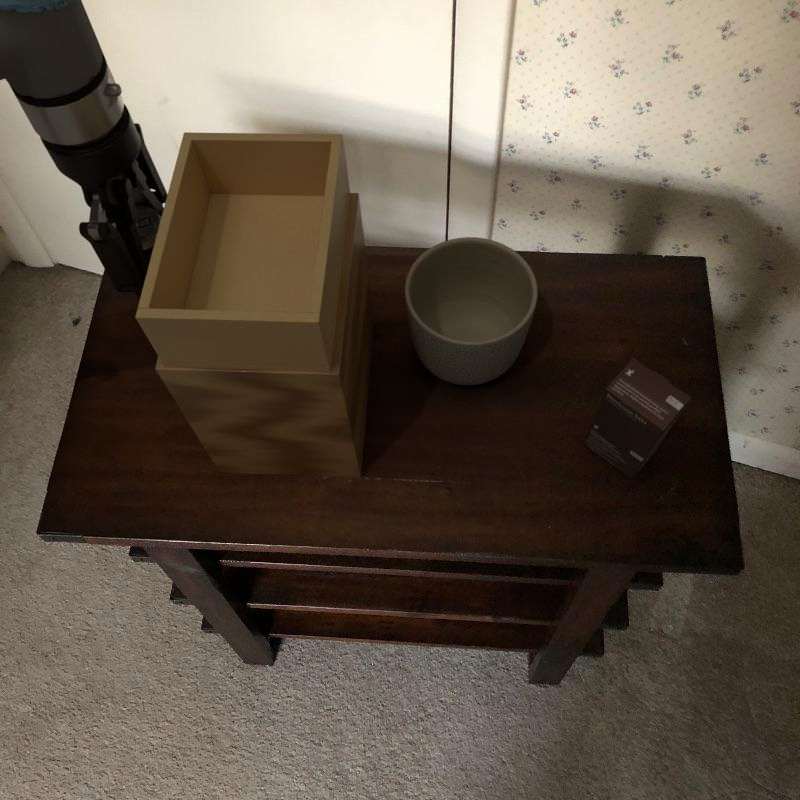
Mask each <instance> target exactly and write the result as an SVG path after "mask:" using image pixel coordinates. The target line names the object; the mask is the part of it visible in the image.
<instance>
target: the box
mask: <svg viewBox="0 0 800 800" xmlns="http://www.w3.org/2000/svg"><path fill="white" fill-rule="evenodd" d="M604 390H605V391H604V392H603V395H602V397H601V399H600V402H599V404H598V407H597V409H596V411H595V414H594V416H593V418H592V420H591V422H590V425H589V428H588V430H587V432H586V435H585V437H584V439H583V442H582V445H583V446H585V447H586V448H588V449H589V450H591V451H592V452H593V453H595V454H596V455H597V456H598V457H600V458H602V460H604V461H605V462H607V463H608V464H610V465H611V466H612V467H614V469H616V470H617V471H618V472H620V473H621V474H622V475H624V476H625V477H626V478H627V479H629V480H631V481H632V480H634V478H635V477H636V476H637V474H638V473H639V472H640V471H641V470H642V469H643V468H644V466H645V465H646V464H647V463H648V462H649V460H650V459H651V458H652V457H653V455H654V454H656V452H657V451H658V449H659V448H660V446H661V445H662V443H663V442H664V440H665V439H666V437H667V435H668V434H669V432H670V431H671V430H672V428H673V427H674V425H675V423H676V422H677V420H678V419H679V417H680V416H681V415H682V413H683V412H684V410H686V407H687V406H688V404H689V403H690V402H691V400H692V399H691V396H690V395H688V394H686V393H685V392H684V391H682V390H681V389H679V388H677V387H676V386H674V385H673V384H672V383H671V382H670V381H669V380H668V379H667V378H665V377H664V376H663V375H662V374H659V373H657V372H656V371H652V370H651V369H649V368H648V367H646V365H644V364H642V362H639V361H638V360H637V359H636V358H634V357H633V358H631V359H630V361H629V362H628V363H627V364H626V365H625V366H624V368H623V369H622V370H621V371H620V372H619V373H618V375H616V377H615V378H614V379H613V380H612V381H611V382H610V383H609V385H608V386H607V387H606V388H605V389H604Z"/></svg>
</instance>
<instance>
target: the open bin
mask: <svg viewBox="0 0 800 800" xmlns="http://www.w3.org/2000/svg"><path fill="white" fill-rule="evenodd" d="M348 173H349V172H348V167H347V159H346V149H345V143H344V135H343V133H341V134H339V133H336V134H335V133H333V134H331V133H266V132H265V133H264V132H263V133H261V132H260V133H258V132H257V133H255V132H251V133H250V132H183V135H182V139H181V142H180V145H179V150H178V153H177V157H176V162H175V165H174V168H173V172H172V176H171V179H170V183H169V187H168V188H169V189H168V191H167V194H168V195H167V199H166V203H164V205H163V207H164V210H163V214H162V218H161V221H160V225H159V229H158V233H157V237H156V240H155V244H154V248H153V252H152V256H151V259H150V263H149V267H148V271H147V275H146V278H145V282H144V286H143V290H142V294H141V297H140V300H139V302H138V305H137V310H136V313H135V320H136V321H137V323H138V324H139V326H140V328H141V330H142V331H143V333H144V335H145V336H146V338H147V340H148V341H149V343H150V345H151V347H152V348H153V350H154V351H155V353H156V354H157V357H158V356H159V358H160V360H161V361H162V362H163V365H164V367H187V368H220V369H253V370H287V371H320V372H330V369H331V361H332V352H333V343H334V334H335V325H336V317H337V308H338V299H339V290H340V281H341V272H342V264H343V255H344V246H345V237H346V228H347V220H348V211H349V202H350V193H351V189H350V188H351V187H350V181H349V174H348Z"/></svg>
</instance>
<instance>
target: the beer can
mask: <svg viewBox="0 0 800 800" xmlns="http://www.w3.org/2000/svg"><path fill="white" fill-rule="evenodd" d="M135 208H136V211H137V217H136V219H135V225H136V228H137V231H138V234H139V238H140V241H141V244H142V247H143V250H144V254H145V257H146V260H147V263H148V266H149V263H150V259H151V256H152V252H153V248H154V244H155V240H156V237H157V233H158V229H159V225H160V221H161V218H162V217H161V216H160V215H159V214H158V213H157V212H156V211H155V210H154V209H153V208H151V207H149V206H144V205H135Z"/></svg>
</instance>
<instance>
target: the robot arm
mask: <svg viewBox="0 0 800 800" xmlns="http://www.w3.org/2000/svg"><path fill="white" fill-rule="evenodd" d="M88 15H89V14H88V13H87V10H86V8H85V5H84V3H83V1H82V0H0V81H3V80H5V81H6V82H7V83H8V85H9V87H10V89H11V91H12V92H13V94H14V96H15V99H16V100H17V101H18V103H19V105H20V108H21V109H22V111H23V112H24V114H25V116H26V118H27V119H28V121H29V123H30V125H31V127H32V129H33V130H34V132H35V133H36V134H37V135H38V136H39V138H40V140H41V142H42V143H41V144H43V146H44V148H45V149H46V151H47V153H48V155H49V157H50V158H51V160H52V161H53V163H54V165H55V167H56V169H57V171H59V172H60V173H61V174H62V175H64V177H66V178H67V179H69V180H71V181H73V182H74V183H75V184H77V185H78V186H79V187H80V188H81V191H82V194H83V199H84V202H85V204H86V205H87V207H89V208H90V210H89V217H88V221H81V222H80V223H79V225H78V231H79V234H80V236H81V237H82V238H84V239H85V240H86V241H87V242H88V243H89V244H90V245H91V247H92V249H93V251H94V253H95V254H96V256H97V258H98V260H99V261H100V263H101V264H102V267H103V269H104V271H105V272H106V274H107V276H108V277H109V280H110V281H111V283H112V285H113V286H114V288H115V289H116V291H117V293H128V294H129V293H130V294H131V293H134V294H136V296H137V299H139V301H140V297H141V294H142V290H143V286H144V282H145V278H146V275H147V271H148V267H149V266H148V263H147V260H146V257H145V254H144V250H143V247H142V244H141V241H140V238H139V234H138V231H137V228H136V225H135V219H136V217H137V211H136V208H135V205H144V206H149V207H151V208H153V209H154V210H155V211H156V212H157V213H158V214H159V215H160V216H161V217H162V214H163V210H164V204H165V203H166V199H167V195H168V191H167V189H166V187H165V185H164V183H163V181H162V178H161V175H160V173H159V171H158V169H157V167H156V164H155V163H154V161H153V159H152V156H151V154H150V152H149V150H148V147H147V145H146V142H145V138H144V135H143V130H142V127H141V125H140V123H134V120H133V118H132V116H131V113H130V111H129V109H128V107H127V106H126V104H125V103H124V99H123V97H122V91H123V90H122V86H121V85H120V84H119V83H117V82H116V80H115V78H114V76H113V73H112V71H111V69H110V67H109V65H108V62H107V59H106V56H105V54H104V52H103V49H102V47H101V45H100V43H99V39H98V37H97V35H96V33H95V30H94V27H93V25H92V22H91V19H90V18H89V16H88Z"/></svg>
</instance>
